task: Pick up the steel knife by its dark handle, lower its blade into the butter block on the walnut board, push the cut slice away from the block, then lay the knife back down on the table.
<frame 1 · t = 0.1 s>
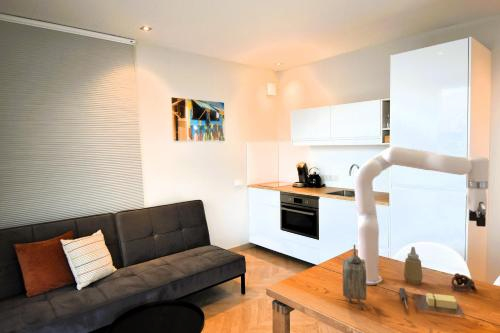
hand: (476, 223, 135), 31 cm above the table, tool pointing down, fingers open, 9 cm apart
butter slice: (430, 302, 127), point 1 cm above the table, touching cutting board
squeeze bottle: (413, 284, 147), on the table
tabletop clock: (354, 302, 132), on the table
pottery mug: (462, 290, 139), on the table
butter: (445, 304, 125), point 1 cm above the table, touching cutting board
cutting board: (436, 306, 126), on the table
knife: (404, 303, 130), on the table
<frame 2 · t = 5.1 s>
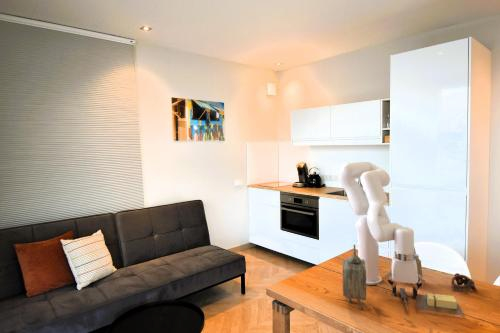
hand: (404, 295, 133), 1 cm above the table, tool pointing down, fingers open, 6 cm apart
nothing on the table moved.
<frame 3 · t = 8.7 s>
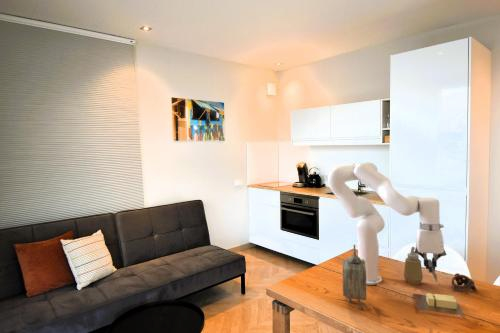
hand: (430, 267, 134), 13 cm above the table, tool pointing down, fingers closed on knife
knife: (432, 272, 130), point 12 cm above the table, touching gripper
everything else where it was.
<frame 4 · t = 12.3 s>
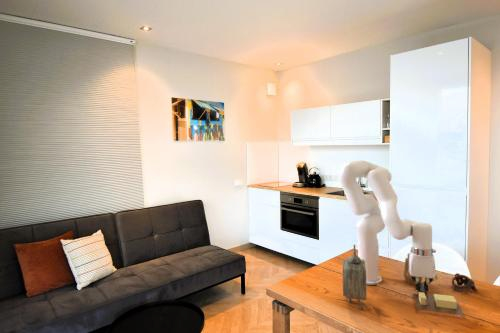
hand: (421, 291, 136), 2 cm above the table, tool pointing down, fingers closed on knife, 2 cm apart
butter slice: (422, 301, 128), point 1 cm above the table, touching cutting board, knife
knife: (423, 297, 132), point 1 cm above the table, touching butter slice, gripper
everything else where it was.
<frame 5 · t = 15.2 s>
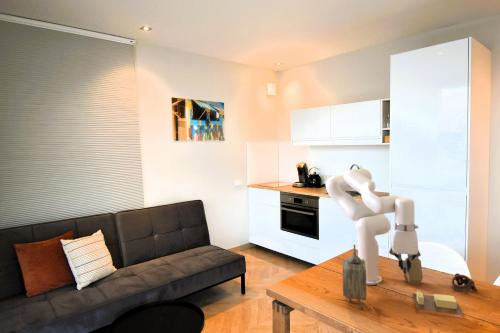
hand: (404, 268, 133), 13 cm above the table, tool pointing down, fingers closed on knife
butter slice: (420, 301, 129), point 1 cm above the table, touching cutting board
knife: (406, 273, 129), point 13 cm above the table, touching gripper
everything else where it was.
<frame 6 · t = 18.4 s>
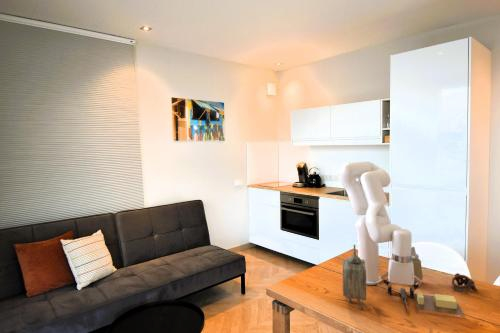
hand: (400, 296, 134), 1 cm above the table, tool pointing down, fingers open, 7 cm apart
knife: (405, 303, 129), on the table
everything else where it was.
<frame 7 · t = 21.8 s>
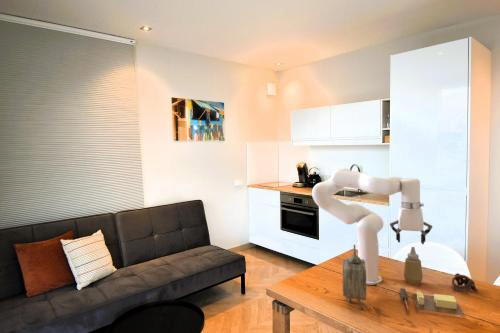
hand: (410, 242, 140), 22 cm above the table, tool pointing down, fingers open, 9 cm apart
nothing on the table moved.
at the end: butter slice 0.2 cm from the target spot on the table beside the butter, resting on cutting board; butter moved 0.0 cm from its start; the gripper is holding nothing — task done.
